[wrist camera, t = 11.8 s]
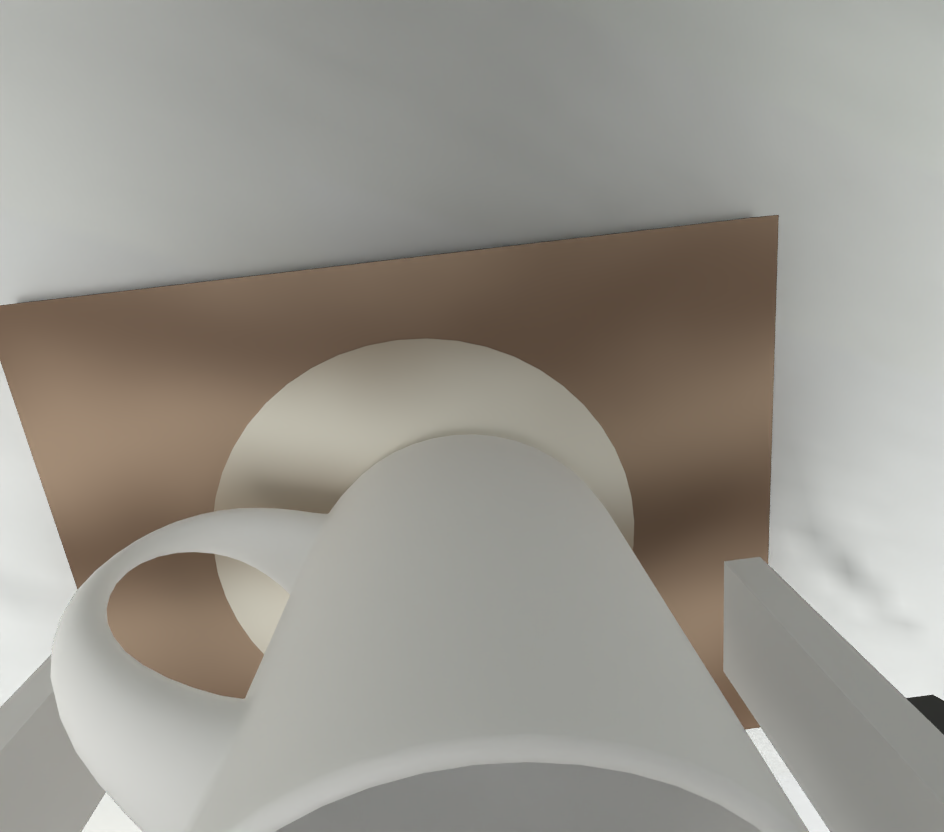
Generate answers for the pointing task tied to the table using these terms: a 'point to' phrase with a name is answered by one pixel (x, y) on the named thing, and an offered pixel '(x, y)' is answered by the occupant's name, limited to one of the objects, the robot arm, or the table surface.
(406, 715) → the mug
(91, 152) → the table surface
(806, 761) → the robot arm
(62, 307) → the board
